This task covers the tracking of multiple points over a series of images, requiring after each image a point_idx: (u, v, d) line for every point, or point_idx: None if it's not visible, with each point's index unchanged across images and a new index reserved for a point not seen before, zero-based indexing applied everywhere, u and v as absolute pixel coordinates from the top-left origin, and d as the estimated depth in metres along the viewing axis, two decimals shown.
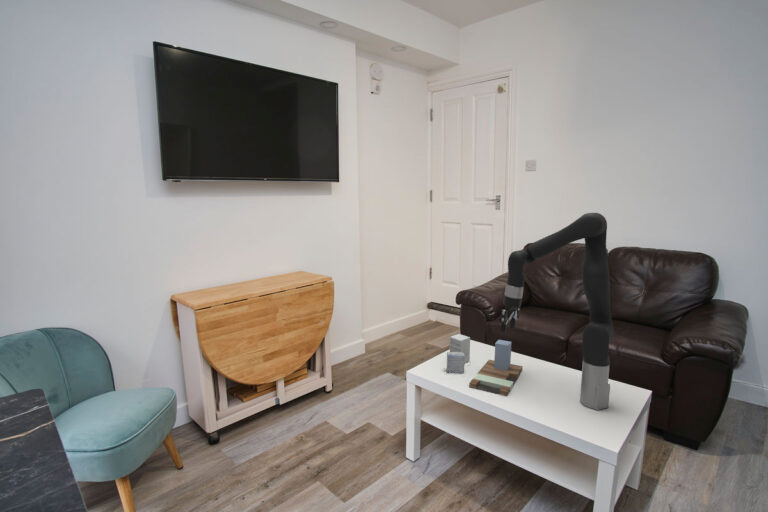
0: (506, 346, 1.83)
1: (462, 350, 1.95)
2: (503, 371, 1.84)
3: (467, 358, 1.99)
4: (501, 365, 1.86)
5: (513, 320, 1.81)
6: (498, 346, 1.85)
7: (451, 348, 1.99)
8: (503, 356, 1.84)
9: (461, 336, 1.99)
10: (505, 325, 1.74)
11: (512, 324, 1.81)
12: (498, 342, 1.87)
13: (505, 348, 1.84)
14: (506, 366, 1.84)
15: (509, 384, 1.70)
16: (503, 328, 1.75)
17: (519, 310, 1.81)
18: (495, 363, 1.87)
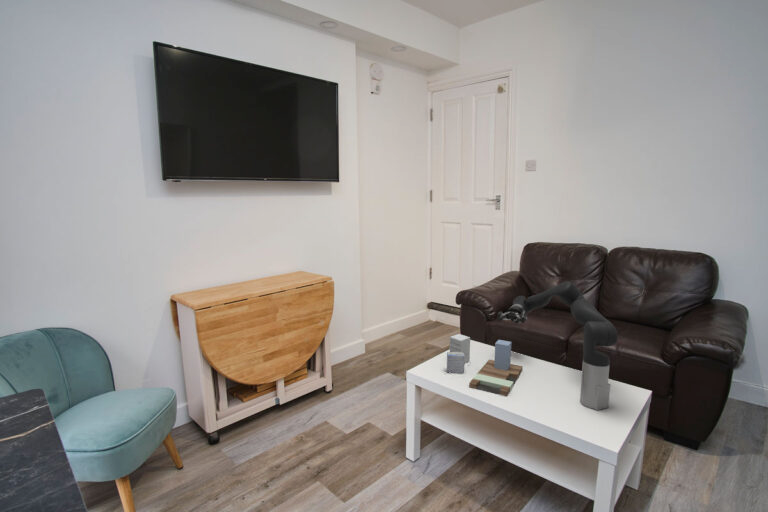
0: (506, 346, 1.83)
1: (462, 350, 1.95)
2: (503, 371, 1.84)
3: (467, 358, 1.99)
4: (501, 365, 1.86)
5: None
6: (498, 346, 1.85)
7: (451, 348, 1.99)
8: (503, 356, 1.84)
9: (461, 336, 2.00)
10: (501, 316, 1.98)
11: None
12: (498, 342, 1.87)
13: (505, 348, 1.84)
14: (506, 366, 1.84)
15: (509, 384, 1.70)
16: (499, 317, 1.97)
17: (525, 316, 1.97)
18: (495, 363, 1.87)
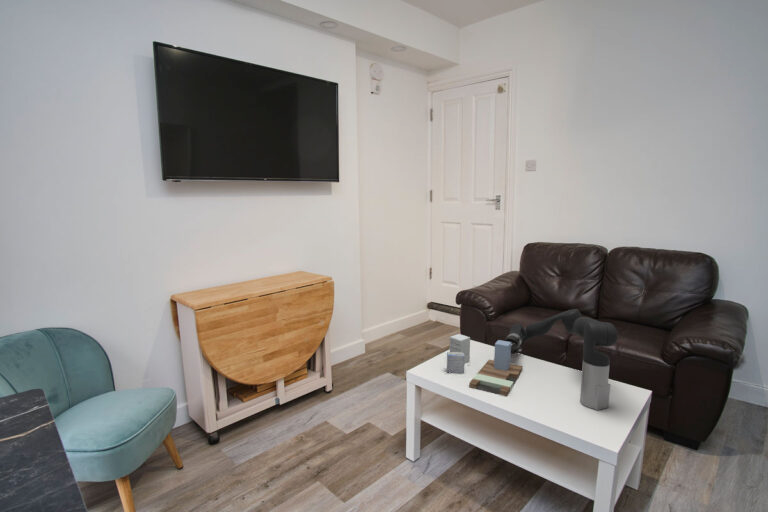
0: (506, 346, 1.83)
1: (462, 350, 1.95)
2: (503, 371, 1.84)
3: (467, 358, 1.99)
4: (500, 365, 1.85)
5: None
6: (498, 346, 1.85)
7: (451, 348, 1.99)
8: (503, 356, 1.84)
9: (461, 336, 2.00)
10: None
11: None
12: (498, 342, 1.87)
13: (505, 348, 1.83)
14: (506, 366, 1.84)
15: (509, 384, 1.70)
16: None
17: (517, 347, 1.94)
18: (495, 363, 1.86)
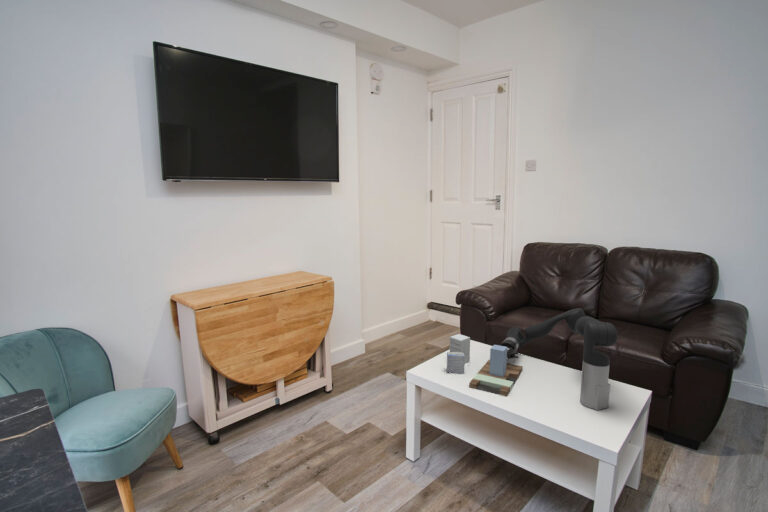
0: (502, 351, 1.77)
1: (462, 350, 1.95)
2: None
3: (467, 358, 1.99)
4: (496, 371, 1.79)
5: None
6: (494, 351, 1.78)
7: (451, 348, 1.99)
8: (499, 362, 1.78)
9: (461, 336, 2.00)
10: None
11: None
12: (493, 347, 1.80)
13: (500, 353, 1.77)
14: (502, 372, 1.78)
15: (509, 384, 1.70)
16: None
17: (514, 352, 1.87)
18: (490, 369, 1.80)
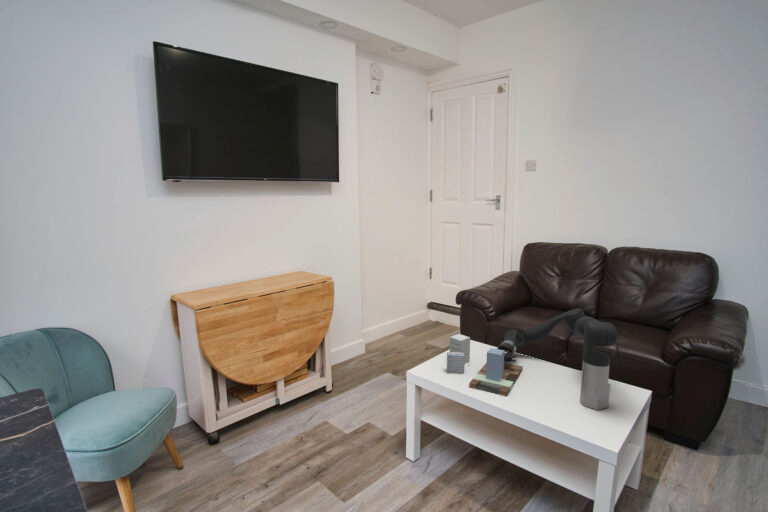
0: (498, 355, 1.72)
1: (462, 350, 1.95)
2: (503, 371, 1.84)
3: (467, 358, 1.99)
4: (493, 375, 1.74)
5: None
6: (490, 355, 1.74)
7: (451, 348, 1.99)
8: (496, 366, 1.73)
9: (461, 336, 2.00)
10: None
11: None
12: (490, 351, 1.76)
13: (497, 357, 1.73)
14: (498, 376, 1.73)
15: (509, 384, 1.70)
16: None
17: (512, 356, 1.83)
18: (487, 373, 1.76)
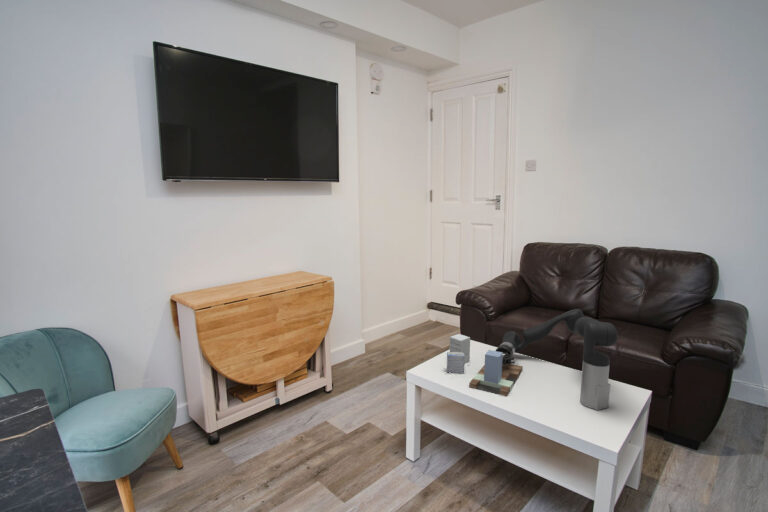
0: (497, 357, 1.70)
1: (462, 350, 1.95)
2: (503, 371, 1.84)
3: (467, 358, 1.99)
4: (491, 377, 1.72)
5: None
6: (488, 357, 1.72)
7: (451, 348, 1.99)
8: (494, 368, 1.71)
9: (461, 336, 2.00)
10: None
11: None
12: (488, 353, 1.74)
13: (495, 359, 1.70)
14: (497, 379, 1.71)
15: (509, 384, 1.70)
16: None
17: (510, 358, 1.81)
18: (485, 375, 1.73)
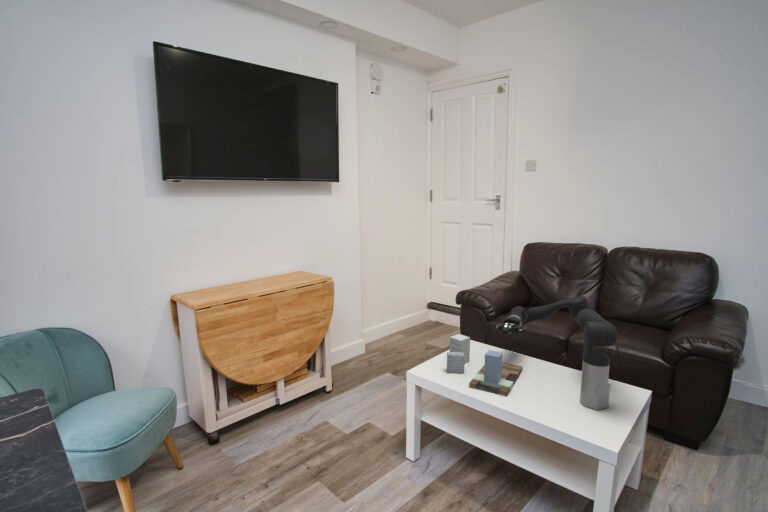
0: (496, 357, 1.70)
1: (462, 350, 1.95)
2: (503, 371, 1.84)
3: (467, 358, 1.99)
4: (491, 377, 1.72)
5: None
6: (488, 357, 1.72)
7: (451, 348, 1.99)
8: (494, 368, 1.71)
9: (461, 336, 2.00)
10: None
11: None
12: (488, 353, 1.73)
13: (495, 359, 1.70)
14: (496, 379, 1.71)
15: (509, 384, 1.70)
16: (502, 329, 1.90)
17: (518, 327, 1.92)
18: (485, 376, 1.73)
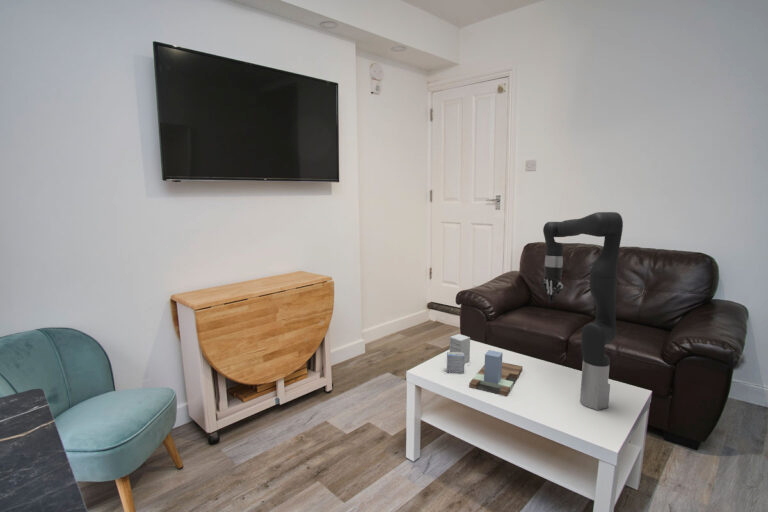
0: (496, 357, 1.70)
1: (462, 350, 1.95)
2: (503, 371, 1.84)
3: (467, 358, 1.99)
4: (491, 377, 1.72)
5: None
6: (488, 357, 1.72)
7: (451, 348, 1.99)
8: (494, 368, 1.71)
9: (461, 336, 2.00)
10: (548, 294, 1.86)
11: None
12: (488, 353, 1.73)
13: (495, 359, 1.70)
14: (496, 379, 1.71)
15: (509, 384, 1.70)
16: (548, 297, 1.87)
17: (557, 288, 1.80)
18: (485, 376, 1.73)
